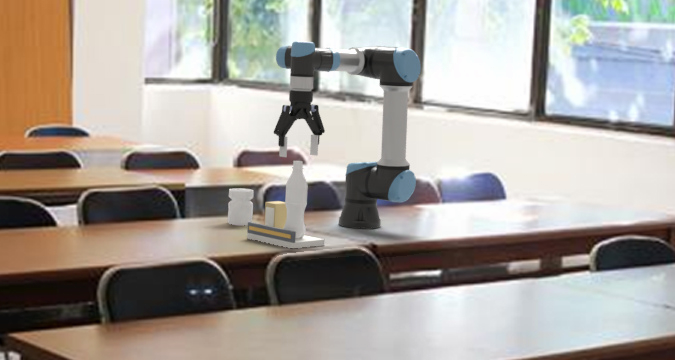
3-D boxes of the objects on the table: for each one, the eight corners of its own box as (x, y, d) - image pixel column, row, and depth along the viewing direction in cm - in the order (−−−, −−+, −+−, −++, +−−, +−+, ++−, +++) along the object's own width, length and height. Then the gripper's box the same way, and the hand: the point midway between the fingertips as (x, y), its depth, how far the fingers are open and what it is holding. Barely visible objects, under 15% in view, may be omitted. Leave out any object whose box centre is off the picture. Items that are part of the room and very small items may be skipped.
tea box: (277, 230, 430) (278, 201, 429) (287, 232, 427) (289, 203, 425) (263, 232, 426) (265, 202, 425) (273, 234, 422) (275, 204, 421)
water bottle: (280, 238, 414) (284, 161, 411) (286, 235, 421) (289, 159, 418) (302, 240, 413) (306, 163, 410) (307, 237, 420) (311, 160, 417)
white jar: (251, 226, 450) (252, 192, 449) (226, 224, 450) (227, 190, 449) (253, 222, 459) (254, 189, 458) (228, 221, 459) (230, 187, 458)
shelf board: (278, 235, 433) (279, 219, 432) (324, 245, 417) (325, 228, 417) (246, 238, 423) (247, 222, 422) (291, 249, 407) (292, 232, 407)
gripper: (321, 88, 423) (318, 153, 426) (264, 89, 406) (261, 156, 408) (337, 90, 418) (334, 155, 420) (280, 90, 400) (277, 158, 403)
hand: (298, 156), depth 414 cm, fingers open, 13 cm apart
